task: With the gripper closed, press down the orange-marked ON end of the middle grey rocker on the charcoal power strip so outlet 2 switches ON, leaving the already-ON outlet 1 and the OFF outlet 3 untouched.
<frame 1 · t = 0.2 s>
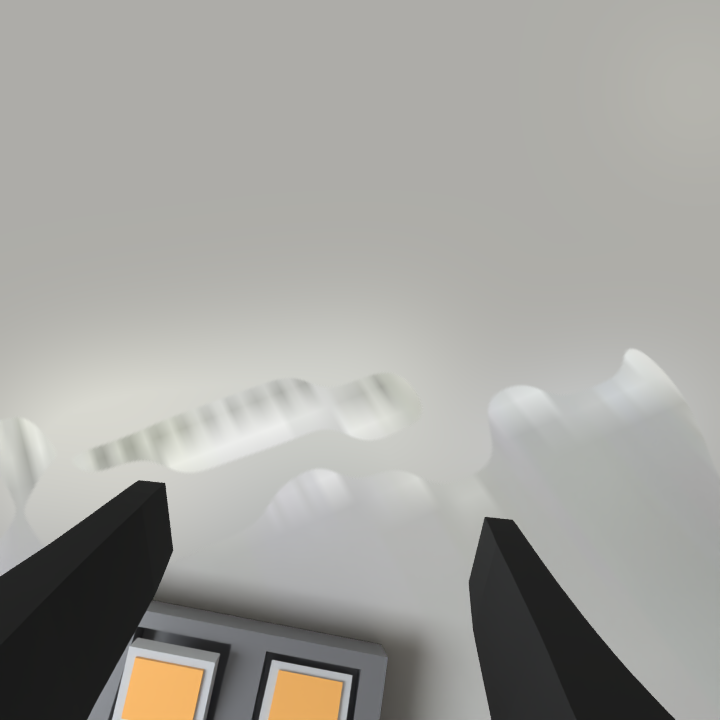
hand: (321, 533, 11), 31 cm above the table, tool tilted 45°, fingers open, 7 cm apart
power strip: (180, 700, 35), on the table
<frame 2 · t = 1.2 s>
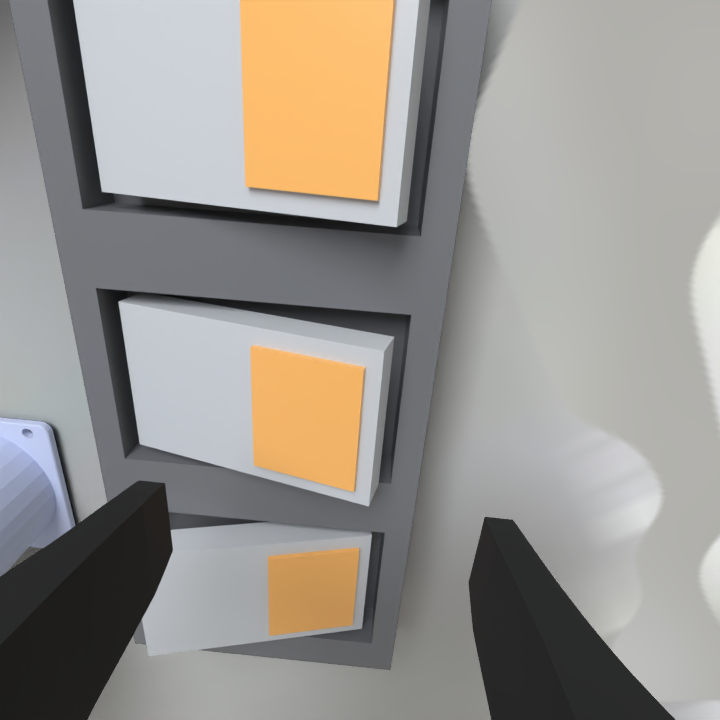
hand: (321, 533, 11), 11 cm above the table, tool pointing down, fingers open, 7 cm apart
outlet 2 rocker: (251, 397, 16), point 5 cm above the table, hinge at -14.0°
outlet 1 rocker: (258, 586, 20), point 5 cm above the table, hinge at 14.0°
outlet 3 rocker: (242, 93, 12), point 5 cm above the table, hinge at -14.0°
power strip: (282, 343, 20), on the table
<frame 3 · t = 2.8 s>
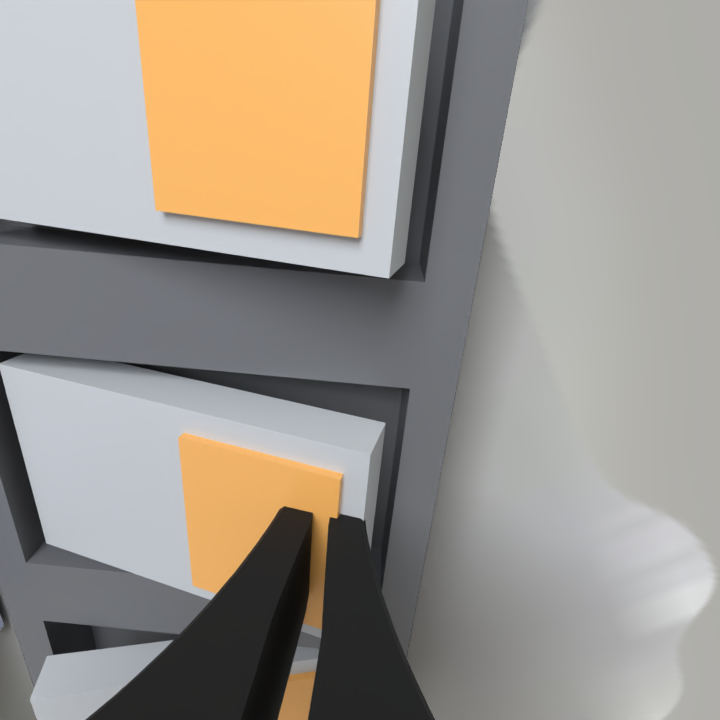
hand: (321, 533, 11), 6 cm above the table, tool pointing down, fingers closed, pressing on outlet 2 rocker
outlet 2 rocker: (189, 494, 12), point 5 cm above the table, hinge at -13.8°, touching gripper
outlet 1 rocker: (210, 713, 15), point 5 cm above the table, hinge at 14.0°
outlet 3 rocker: (149, 65, 8), point 5 cm above the table, hinge at -14.0°
power strip: (243, 398, 16), on the table
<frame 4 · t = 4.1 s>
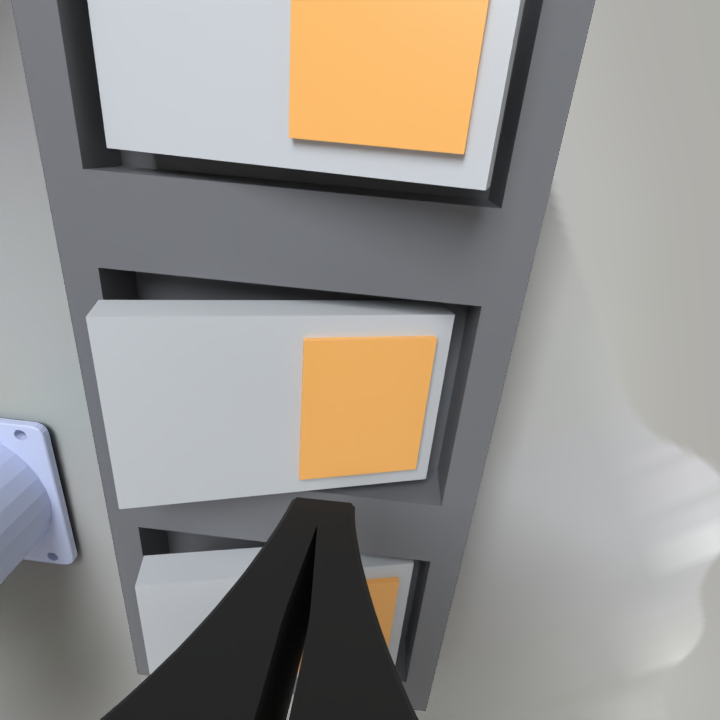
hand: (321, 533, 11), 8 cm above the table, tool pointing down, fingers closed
outlet 2 rocker: (284, 403, 13), point 5 cm above the table, hinge at 18.0°
outlet 1 rocker: (280, 617, 17), point 5 cm above the table, hinge at 14.0°
outlet 3 rocker: (287, 16, 10), point 5 cm above the table, hinge at -14.0°
power strip: (311, 338, 18), on the table
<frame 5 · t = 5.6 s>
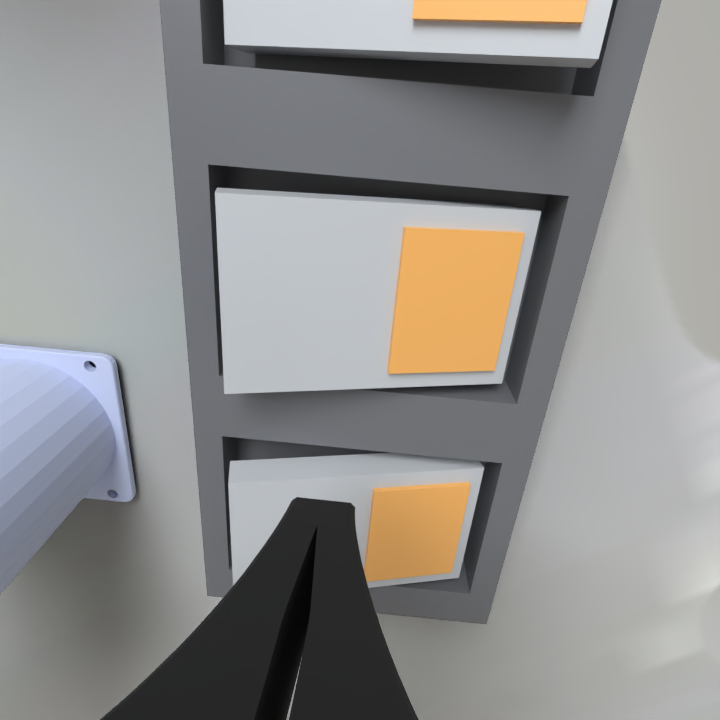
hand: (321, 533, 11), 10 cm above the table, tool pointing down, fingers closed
outlet 2 rocker: (377, 298, 14), point 5 cm above the table, hinge at 15.7°
outlet 1 rocker: (354, 526, 18), point 5 cm above the table, hinge at 14.0°
power strip: (378, 261, 19), on the table
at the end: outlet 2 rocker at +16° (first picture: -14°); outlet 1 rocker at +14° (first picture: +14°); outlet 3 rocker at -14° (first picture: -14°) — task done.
